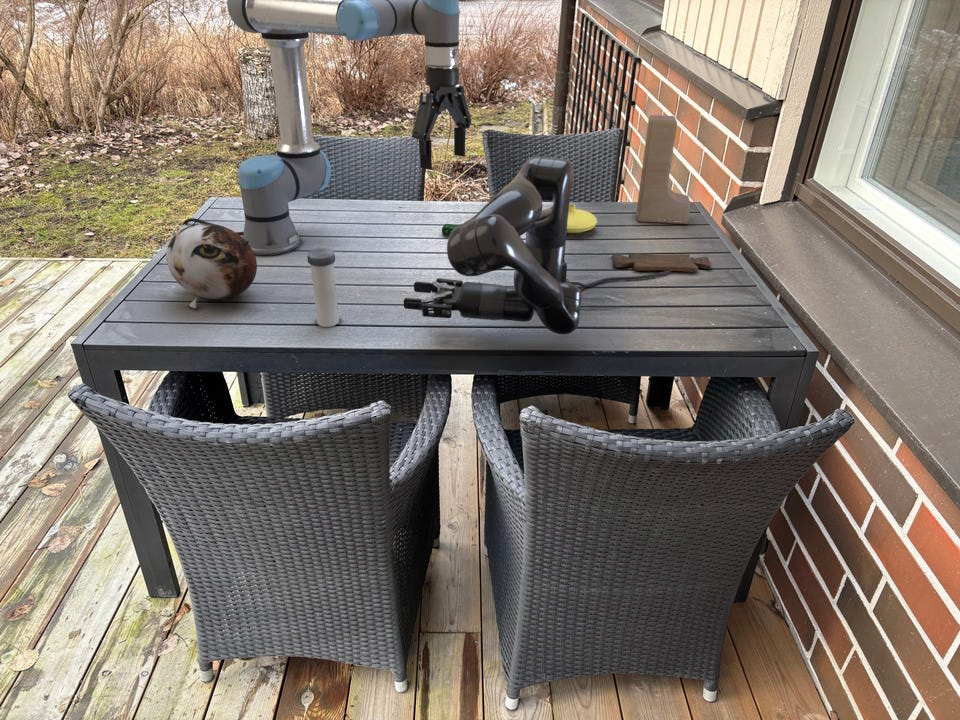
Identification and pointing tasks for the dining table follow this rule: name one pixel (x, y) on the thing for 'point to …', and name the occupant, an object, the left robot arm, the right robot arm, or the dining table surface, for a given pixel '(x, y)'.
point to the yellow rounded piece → (580, 220)
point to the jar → (325, 295)
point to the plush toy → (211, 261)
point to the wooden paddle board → (661, 262)
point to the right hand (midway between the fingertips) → (409, 294)
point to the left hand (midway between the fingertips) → (443, 161)
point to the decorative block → (660, 176)
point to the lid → (321, 257)
